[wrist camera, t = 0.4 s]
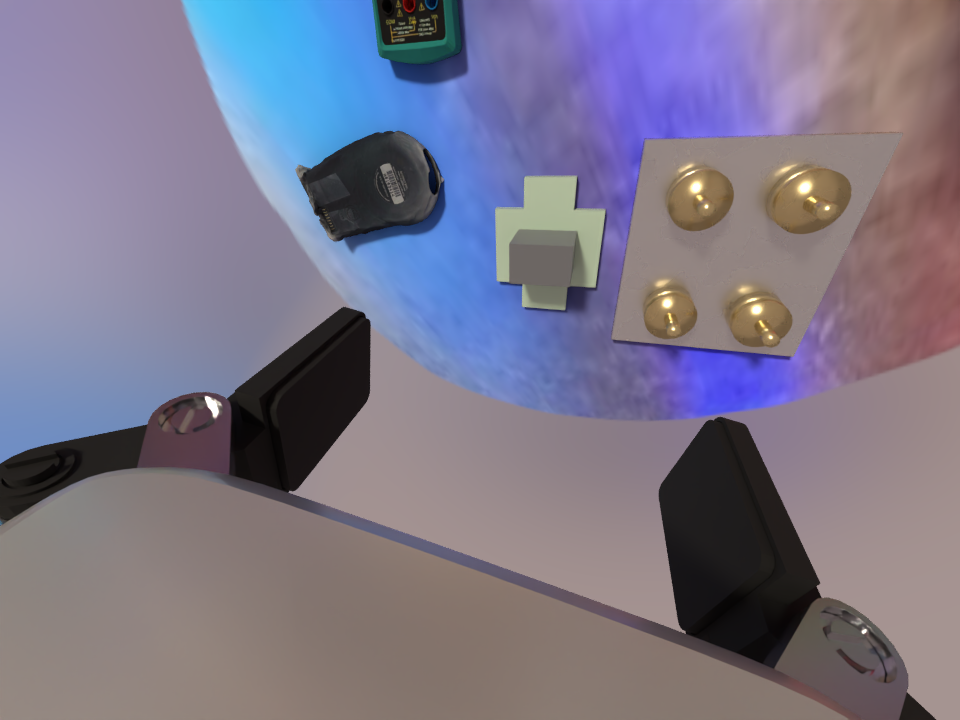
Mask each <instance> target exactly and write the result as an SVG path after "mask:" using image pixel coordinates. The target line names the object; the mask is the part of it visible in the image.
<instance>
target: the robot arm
mask: <svg viewBox="0 0 960 720" xmlns="http://www.w3.org/2000/svg"><path fill="white" fill-rule="evenodd" d="M370 326H371V325H370V320H369V319H366V316H365V314H364V313H363V312H360V311H357V310H353V309H350V308H346V307H343V308H341V309H339V310H338V311H337V312H336V313H334V314H333V315H332V316H330V317H329V318H328V319H326V320H325V321H324V322H323V323H321V324H320V325H319V326H317V327H316V328H315V329H314V330H312V331H311V332H310V333H308V334H307V335H306V336H304V337H303V338H302V339H301V340H299V341H298V342H297V343H295V344H294V345H293V346H292V347H290V348H289V349H288V350H286V351H285V352H284V353H282V354H281V355H280V356H279V357H277V358H276V359H275V360H274V361H272V362H271V363H270V364H268V365H267V366H266V367H264V368H263V369H262V370H260V371H259V372H258V373H257V374H255V375H254V376H253V377H252V378H250V379H249V380H248V381H246V382H245V383H244V384H242V385H241V386H240V387H238V388H237V389H236V390H235V393H234V394H232V395H231V396H230V397H228V398H227V399H226V398H225V397H223V396H221V395H219V394H216V393H209V392H198V393H191V394H186V395H182V396H179V397H177V398H174V399H172V400H169V401H168V402H166V403H165V404H163V405H161V406H160V407H159V408H158V409H157V410H155V411H154V412H153V413H152V415H151V417H150V419H149V421H148V425H143V426H138V427H134V428H128V429H124V430H118V431H113V432H109V433H103V434H99V435H94V436H89V437H84V438H79V439H74V440H69V441H64V442H59V443H54V444H49V445H44V446H41V447H37V448H33V449H30V450H27V451H24V452H22V453H20V454H17V455H15V456H13V457H11V458H9V459H7V460H6V461H4V462H2V463H1V464H0V720H936V719H935V718H934V717H933V716H932V715H931V714H930V713H929V712H927V711H926V710H925V709H924V708H923V707H922V706H921V705H920V704H919V703H918V702H917V701H916V700H915V699H914V698H912V697H911V696H910V695H909V694H908V693H907V689H908V673H907V670H906V667H905V665H904V662H903V660H902V658H901V657H900V655H899V653H898V652H897V650H896V649H895V647H894V645H893V644H892V643H891V642H890V641H889V639H888V638H887V637H886V636H885V635H884V633H883V632H882V631H881V630H880V629H879V628H878V627H877V626H876V625H875V624H873V623H872V622H871V621H870V620H869V619H868V618H867V617H866V616H864V615H863V614H861V613H860V612H859V611H857V610H856V609H854V608H853V607H851V606H849V605H847V604H845V603H843V602H841V601H839V600H835V599H831V598H821V596H820V593H819V592H818V589H817V587H816V586H817V585H819V584H820V581H819V579H818V577H817V575H816V573H815V571H814V569H813V566H812V564H811V562H810V560H809V558H808V556H807V554H806V552H805V549H804V547H803V545H802V543H801V541H800V539H799V537H798V534H797V532H796V530H795V528H794V526H793V524H792V522H791V520H790V517H789V515H788V513H787V511H786V509H785V507H784V505H783V502H782V500H781V498H780V496H779V494H778V492H777V490H776V488H775V486H774V483H773V481H772V479H771V477H770V475H769V473H768V471H767V468H766V466H765V464H764V462H763V460H762V458H761V456H760V453H759V451H758V449H757V447H756V445H755V443H754V441H753V438H752V436H751V434H750V432H749V430H748V428H747V426H746V425H745V424H743V423H740V422H736V421H733V420H729V419H726V418H723V417H718V418H716V419H715V420H714V421H713V420H708V421H707V422H706V423H705V424H704V425H703V427H702V428H701V430H700V431H699V432H698V434H697V435H696V436H695V438H694V439H693V441H692V442H691V443H690V445H689V446H688V448H687V449H686V450H685V452H684V453H683V455H682V456H681V458H680V459H679V460H678V462H677V463H676V465H675V466H674V467H673V469H672V470H671V471H670V473H669V474H668V475H667V477H666V478H665V480H664V481H663V482H662V484H661V486H660V489H659V502H660V508H661V515H662V521H663V527H664V533H665V540H666V546H667V553H668V559H669V566H670V572H671V579H672V584H673V592H674V598H675V604H676V610H677V617H678V622H679V625H680V627H681V628H682V630H684V631H686V634H684V633H682V632H679V631H676V630H673V629H671V628H669V627H666V626H663V625H660V624H658V623H655V622H652V621H649V620H647V619H644V618H641V617H638V616H635V615H633V614H630V613H627V612H625V611H622V610H619V609H616V608H614V607H611V606H608V605H605V604H602V603H600V602H597V601H594V600H591V599H589V598H586V597H583V596H580V595H577V594H574V593H572V592H569V591H566V590H564V589H561V588H558V587H555V586H553V585H550V584H547V583H544V582H541V581H538V580H536V579H533V578H530V577H527V576H525V575H522V574H519V573H516V572H513V571H511V570H508V569H504V568H502V567H499V566H496V565H494V564H491V563H488V562H485V561H483V560H480V559H477V558H474V557H471V556H469V555H465V554H463V553H460V552H457V551H454V550H451V549H449V548H446V547H443V546H440V545H438V544H435V543H432V542H429V541H426V540H423V539H421V538H418V537H415V536H412V535H409V534H406V533H403V532H400V531H398V530H395V529H392V528H389V527H386V526H383V525H380V524H378V523H375V522H372V521H369V520H366V519H363V518H360V517H358V516H355V515H352V514H349V513H346V512H343V511H341V510H338V509H335V508H332V507H329V506H326V505H323V504H320V503H317V502H314V501H311V500H308V499H305V498H302V497H299V496H296V495H293V494H290V493H288V492H289V491H295V490H296V489H298V488H299V486H300V485H301V484H302V483H303V481H304V480H305V479H306V478H307V476H308V475H309V474H310V473H311V471H312V470H313V469H314V468H315V466H316V465H317V464H318V463H319V461H320V460H321V459H322V457H323V456H324V455H325V454H326V452H327V451H328V450H329V449H330V447H331V446H332V445H333V444H334V442H335V441H336V440H337V439H338V437H339V436H340V435H341V433H342V432H343V431H344V430H345V428H346V427H347V426H348V425H349V423H350V422H351V421H352V420H353V418H354V417H355V416H356V415H357V413H358V412H359V411H360V410H361V408H362V407H363V406H364V404H365V403H366V402H367V400H368V397H369V394H370Z"/></svg>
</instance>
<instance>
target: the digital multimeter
mask: <svg viewBox="0 0 960 720" xmlns="http://www.w3.org/2000/svg"><path fill="white" fill-rule="evenodd" d="M372 2H373V10H374V19H375V28H376V37H377V46H378V52H379V55H380V56H381V57H382V58H385V59H389V60H393V61H397V62H404V63H411V64H429V63H434V62H437V61H441V60H444V59H446V58H449V57H451V56H453V55H456V54H458V53H459V52H460V51H461V47H462V45H461V35H460V24H459V14H458V3H457V0H372ZM444 16H445V17H444ZM445 30H446V31H445Z"/></svg>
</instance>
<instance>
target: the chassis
mask: <svg viewBox="0 0 960 720" xmlns="http://www.w3.org/2000/svg"><path fill="white" fill-rule="evenodd" d="M902 135H903V133H899V132H869V133H831V134H793V135H755V136H717V137H679V138H644V143H643V149H642V155H641V161H640V167H639V173H638V179H637V185H636V191H635V197H634V203H633V209H632V214H631V220H630V226H629V232H628V238H627V244H626V250H625V256H624V262H623V268H622V274H621V280H620V286H619V292H618V298H617V304H616V309H615V315H614V321H613V327H612V333H611V339H613V340H624V341H634V342H645V343H655V344H666V345H676V346H687V347H697V348H708V349H718V350H729V351H739V352H750V353H760V354H770V355H781V356H791V357H793V356H794V354H795V352H796V350H797V348H798V346H799V344H800V342H801V340H802V338H803V336H804V334H805V332H806V330H807V328H808V326H809V324H810V322H811V320H812V318H813V316H814V314H815V312H816V310H817V308H818V306H819V303H820V301H821V299H822V297H823V295H824V293H825V291H826V289H827V287H828V285H829V283H830V281H831V279H832V277H833V275H834V273H835V271H836V269H837V267H838V265H839V263H840V261H841V259H842V257H843V255H844V253H845V251H846V249H847V247H848V245H849V243H850V241H851V238H852V236H853V234H854V232H855V230H856V228H857V226H858V224H859V222H860V220H861V218H862V216H863V214H864V212H865V210H866V208H867V206H868V204H869V202H870V200H871V198H872V196H873V194H874V192H875V190H876V188H877V186H878V184H879V182H880V180H881V178H882V176H883V174H884V171H885V169H886V167H887V165H888V163H889V161H890V159H891V157H892V155H893V153H894V151H895V149H896V147H897V145H898V143H899V141H900V139H901V137H902Z"/></svg>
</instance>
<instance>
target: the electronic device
mask: <svg viewBox="0 0 960 720" xmlns="http://www.w3.org/2000/svg"><path fill="white" fill-rule="evenodd" d="M423 152H424V153H425V154H426V155H427V157H428V159H429V161H430V162H431V164H432V167H433V169H434V174H435V180H436V189H435V194H432V192H431V191H430V188H429V182H428V176H429V172H430V169H429V166H428V164H427V161H426V159H425V156H424V153H423ZM295 170H296V173H297V175H298V177H299V179H300V181H301V183H302V185H303V187H304V189H305V191H306V193H307V195H308V197H309V202H310V204H311V205H312V208H313V210H314V214H315V215H316V216H319V217H320V219H319V221H320V223H321V225H322V226H323V227H324V229H325V231H326V233H327V235H328V237H329V238H330V239H331V240H333V241H341V240H343V238H345V237H351V236H354V235H358V234H366V233H368V232H371V231H374V230H380V229H383V228H387V227H391V226H397V225H403V226H409V225H413V224H417V223H419V222H422V221H423V220H424V219H426V218H427V217H428V216H429V215H430V214H431V212H432V210H433V209H434V207H435V204H436V202H437V198H438V194H439V188H440V184H441V183H442V182H443V181H444V179H443V178H442V177H441V176H440V174H439V171H438V168H437V166H436V163H435V162H434V160H433V158H432V156H431V154H430V153H429V151H428V150H427V149H426V148H425V147H424V146H423V145H422V144H421V143H419V142H418V141H417V140H416V139H414V138H413V137H411V136H410V135H408V134H406V133H404V132H401V131H397V132H392V131H386V132H384V133H379V132H377V133H374V134H372V135H369V136H367V137H364V138H362V139H360V140H357V141H355V142H353V143H351V144H349V145H347V146H345V147H343V148H342V149H340V150H338V151H337V152H335V153H333V154H332V155H330V156H328V157H327V158H325V159H324V160H323V161H322V162H321V163H320V164H318V165H317V166H314V167H313V168H312V169H311V168H307V167H304V166H301V165H298V167H297V168H296V169H295Z"/></svg>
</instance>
